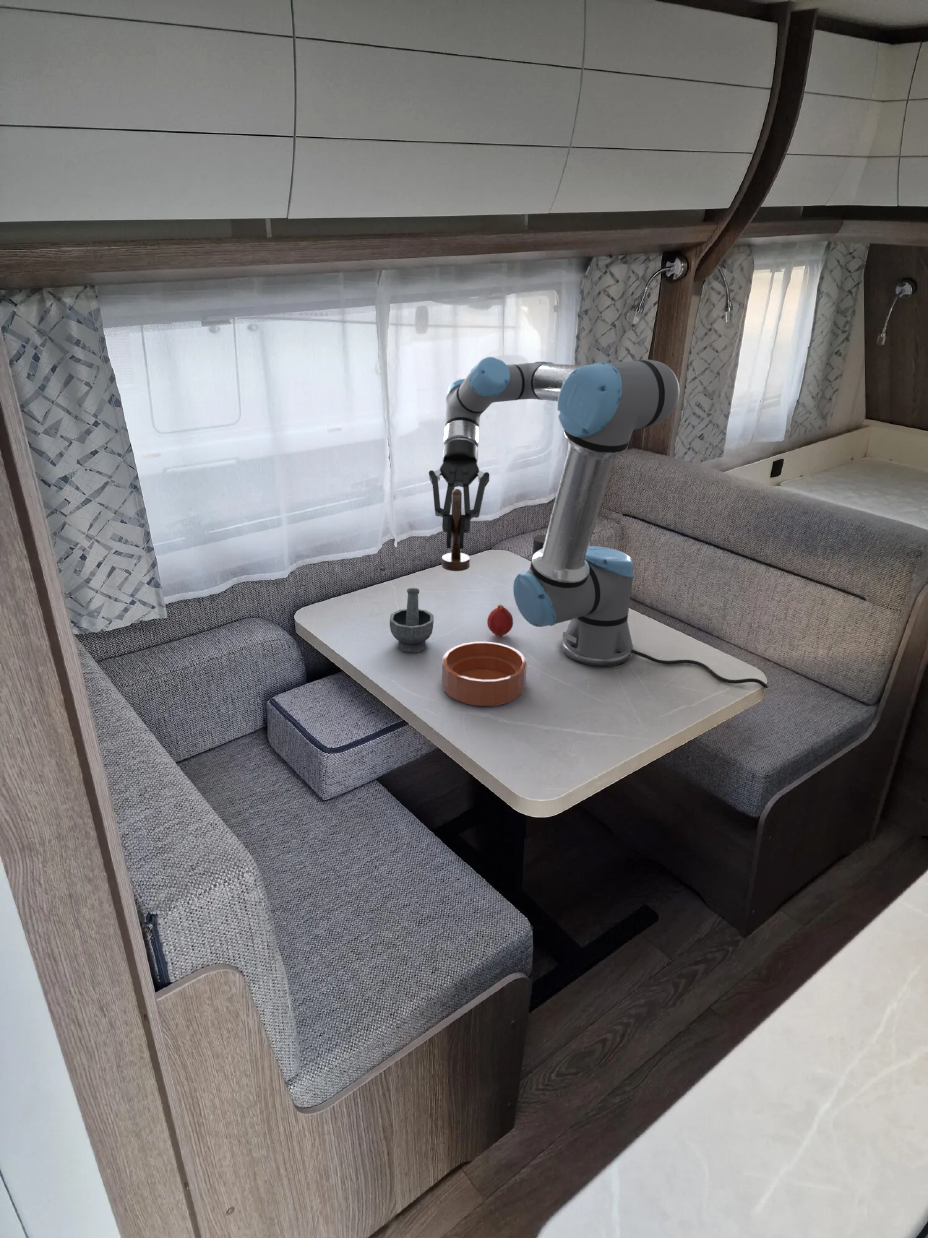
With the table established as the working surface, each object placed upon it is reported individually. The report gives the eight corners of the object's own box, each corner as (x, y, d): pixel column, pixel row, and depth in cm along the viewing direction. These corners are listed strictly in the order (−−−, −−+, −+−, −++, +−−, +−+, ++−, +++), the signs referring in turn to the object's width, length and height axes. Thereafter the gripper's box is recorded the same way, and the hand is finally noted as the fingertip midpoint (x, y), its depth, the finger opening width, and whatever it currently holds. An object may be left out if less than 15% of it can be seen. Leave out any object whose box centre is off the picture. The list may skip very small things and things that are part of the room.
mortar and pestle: (432, 656, 176) (432, 606, 170) (388, 655, 175) (387, 605, 170) (434, 633, 186) (434, 585, 181) (393, 632, 186) (392, 584, 180)
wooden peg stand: (472, 562, 177) (474, 486, 170) (466, 572, 172) (467, 494, 165) (445, 559, 178) (446, 484, 171) (438, 569, 173) (439, 491, 166)
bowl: (530, 672, 170) (532, 647, 168) (517, 713, 156) (518, 686, 153) (453, 662, 174) (453, 637, 171) (433, 702, 159) (433, 675, 156)
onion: (491, 629, 188) (492, 597, 185) (515, 633, 187) (517, 601, 183) (483, 639, 183) (484, 607, 180) (508, 644, 182) (509, 611, 178)
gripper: (495, 457, 180) (491, 554, 172) (427, 455, 181) (420, 551, 173) (495, 438, 173) (491, 539, 165) (425, 436, 174) (417, 536, 166)
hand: (455, 545), depth 169 cm, fingers closed on wooden peg stand, 2 cm apart
